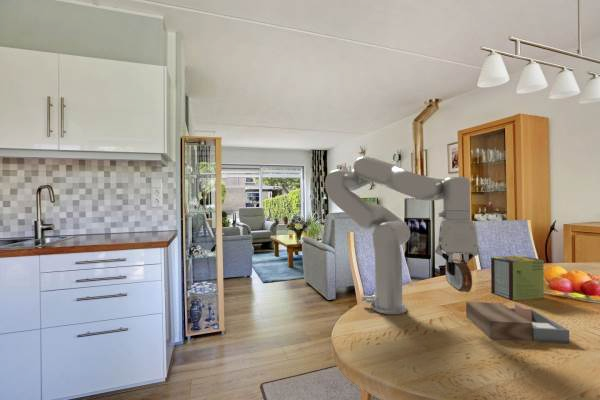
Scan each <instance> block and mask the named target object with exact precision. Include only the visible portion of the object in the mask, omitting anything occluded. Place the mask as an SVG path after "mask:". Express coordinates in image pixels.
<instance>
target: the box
mask: <svg viewBox="0 0 600 400" xmlns="http://www.w3.org/2000/svg"><path fill="white" fill-rule="evenodd" d="M508 308H509V309H511V310H513V311H514V312H515V307H508ZM530 309H531V314H532V322H535V323H548V324H550V325H552V326H553V327H555V328H557V329H554V328H535V327H533V326H532V342H542V343H543V342H544V343H559V344H560V343H563V344H567V343H568V344H569V343H570V330H569V329H568V328H566V327H564V326H562V325H560V324H558V323H557V322H555V321H554V320H552V319H550V318H548V317H546V316H545V315H543V314H541V313H539V312H538V311H536V310H534V309H532V308H530Z"/></svg>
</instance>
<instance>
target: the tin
mask: <svg viewBox="0 0 600 400" xmlns="http://www.w3.org/2000/svg"><path fill="white" fill-rule="evenodd" d="M453 263H454V275H450V274H449V273H448V271H447V261H446V260H445V279H446V281H447V283H448V284H449V285H450V286H451V287H453V288H454V289H455V290H457V291H458V292H465V293H466V292H467V293H470V292H471V290H472V286H473V277H472V271H471V269H470V267H469V266H468V263H467V264H465V263H463V262H461V260H459V259H457V258H455V259H453Z"/></svg>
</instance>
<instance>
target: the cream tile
mask: <svg viewBox="0 0 600 400" xmlns="http://www.w3.org/2000/svg"><path fill="white" fill-rule="evenodd" d="M531 323H532V326H533V327H535V328H554V329H557V328H555V327H553V326H552V325H550V324H548V323H535V322H531Z"/></svg>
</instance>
